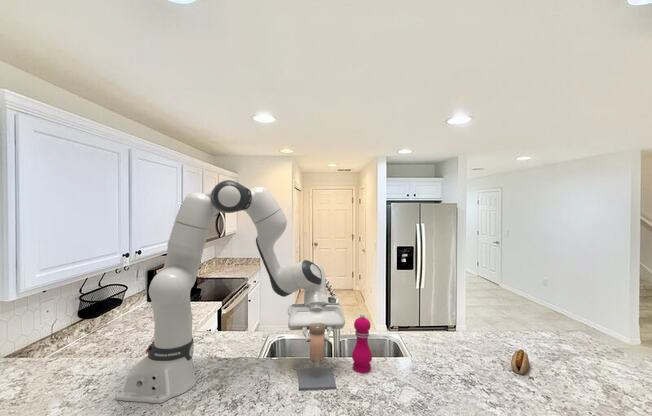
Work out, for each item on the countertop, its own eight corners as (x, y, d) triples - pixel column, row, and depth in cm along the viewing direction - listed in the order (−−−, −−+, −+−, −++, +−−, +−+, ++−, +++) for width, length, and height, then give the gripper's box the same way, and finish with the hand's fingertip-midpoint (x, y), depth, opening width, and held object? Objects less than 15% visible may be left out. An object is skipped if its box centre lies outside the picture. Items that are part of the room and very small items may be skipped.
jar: (309, 361, 100) (310, 328, 100) (308, 353, 106) (308, 322, 106) (325, 360, 101) (326, 328, 101) (323, 353, 107) (324, 322, 107)
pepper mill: (371, 375, 106) (371, 317, 106) (350, 372, 107) (351, 316, 108) (372, 365, 113) (372, 311, 113) (353, 362, 114) (353, 309, 115)
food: (527, 378, 105) (527, 363, 105) (509, 373, 108) (509, 359, 109) (530, 362, 116) (530, 349, 116) (513, 358, 120) (513, 345, 120)
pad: (299, 390, 96) (299, 388, 96) (298, 371, 108) (298, 368, 108) (336, 389, 97) (336, 386, 97) (331, 369, 109) (332, 367, 109)
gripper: (287, 300, 110) (286, 338, 100) (343, 298, 112) (347, 336, 102) (287, 308, 114) (286, 345, 104) (341, 307, 116) (345, 343, 106)
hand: (317, 341), depth 103 cm, fingers closed on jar, 5 cm apart
